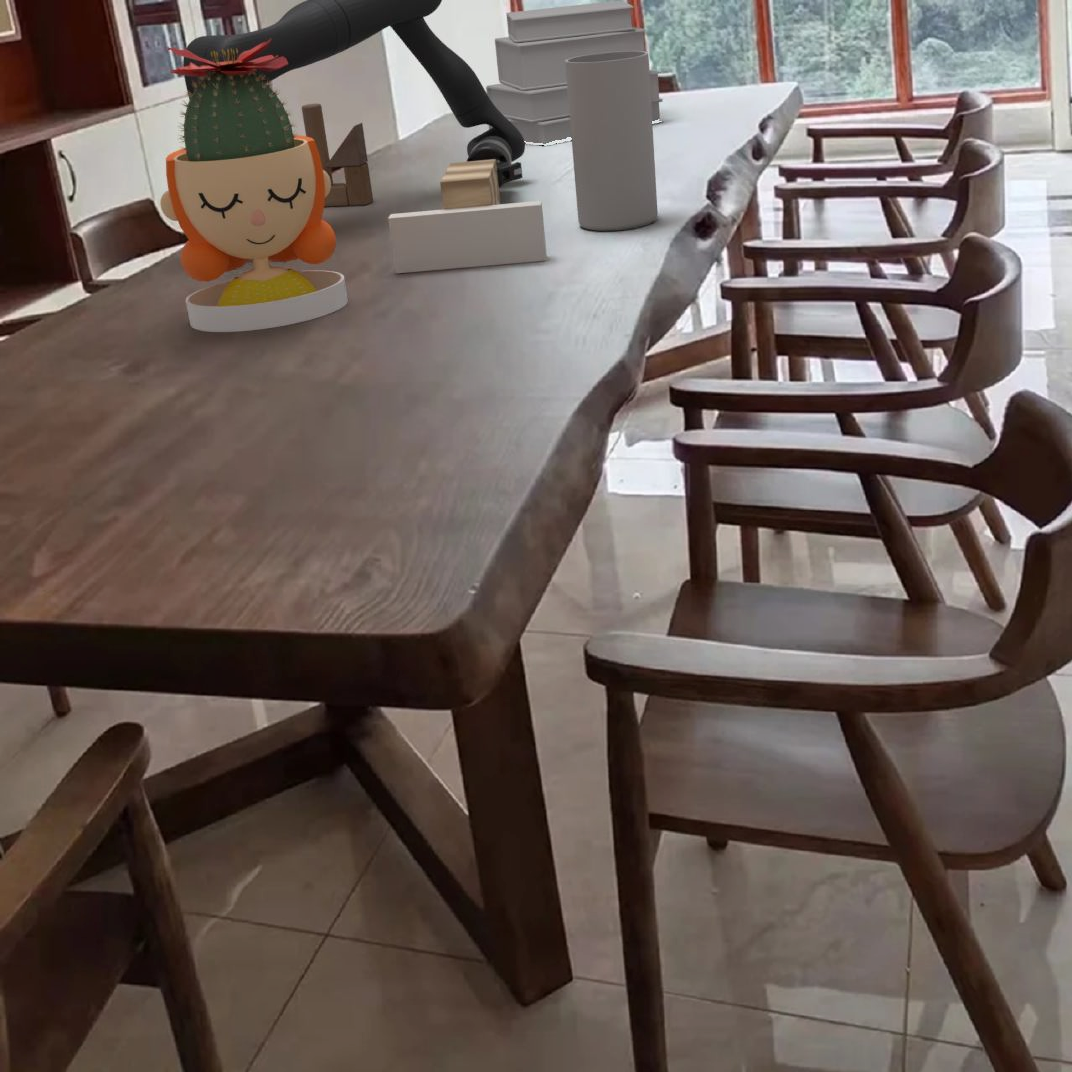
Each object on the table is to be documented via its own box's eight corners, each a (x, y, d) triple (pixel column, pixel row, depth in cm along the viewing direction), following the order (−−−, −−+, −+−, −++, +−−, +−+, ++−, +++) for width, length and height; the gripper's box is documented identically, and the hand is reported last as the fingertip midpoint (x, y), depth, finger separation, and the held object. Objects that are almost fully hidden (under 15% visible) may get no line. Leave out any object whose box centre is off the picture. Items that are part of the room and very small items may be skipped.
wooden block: (366, 205, 254) (351, 103, 246) (312, 207, 257) (296, 107, 249) (374, 201, 257) (359, 100, 249) (321, 203, 260) (305, 103, 253)
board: (398, 268, 205) (390, 214, 202) (546, 255, 204) (541, 200, 200) (395, 273, 203) (387, 218, 199) (546, 260, 201) (540, 204, 198)
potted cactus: (359, 312, 184) (317, 33, 170) (189, 341, 179) (131, 56, 165) (333, 279, 203) (293, 25, 189) (179, 304, 198) (126, 45, 184)
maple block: (459, 240, 219) (450, 163, 214) (503, 236, 219) (495, 159, 214) (450, 264, 205) (440, 182, 200) (497, 260, 204) (488, 178, 199)
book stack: (475, 139, 315) (462, 19, 305) (599, 114, 332) (591, 0, 321) (549, 149, 292) (538, 20, 281) (679, 122, 308) (673, -1, 298)
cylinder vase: (615, 211, 228) (604, 51, 217) (674, 217, 219) (665, 50, 209) (562, 228, 220) (548, 62, 210) (621, 235, 211) (609, 62, 201)
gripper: (448, 145, 240) (437, 163, 225) (524, 138, 239) (519, 156, 224) (454, 189, 243) (443, 210, 228) (529, 182, 242) (524, 203, 227)
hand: (481, 183), depth 226 cm, fingers closed
